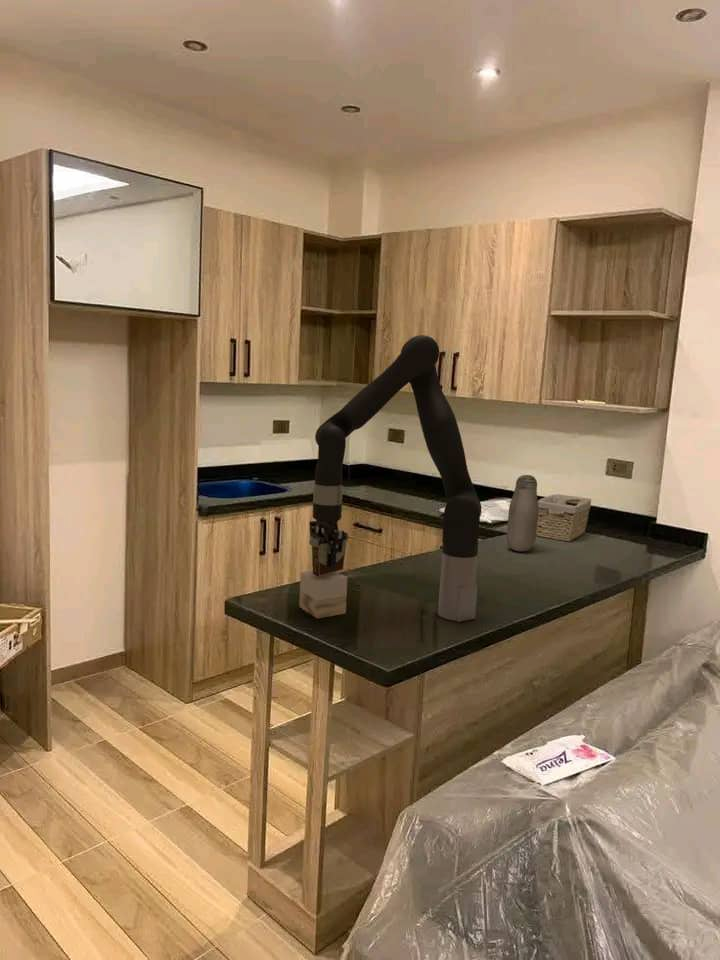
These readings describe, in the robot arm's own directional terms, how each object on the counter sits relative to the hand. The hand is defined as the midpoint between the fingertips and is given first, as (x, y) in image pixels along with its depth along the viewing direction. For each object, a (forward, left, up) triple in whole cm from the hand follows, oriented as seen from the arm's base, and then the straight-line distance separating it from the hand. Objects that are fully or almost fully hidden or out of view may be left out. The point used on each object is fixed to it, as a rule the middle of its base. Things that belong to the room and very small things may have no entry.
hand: (325, 563), depth 193 cm
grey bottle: (+22, -98, -13) cm, 101 cm away
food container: (+1, 0, -2) cm, 2 cm away
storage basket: (+33, -133, -13) cm, 138 cm away
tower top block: (0, 0, -8) cm, 8 cm away
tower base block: (0, 0, -13) cm, 13 cm away
